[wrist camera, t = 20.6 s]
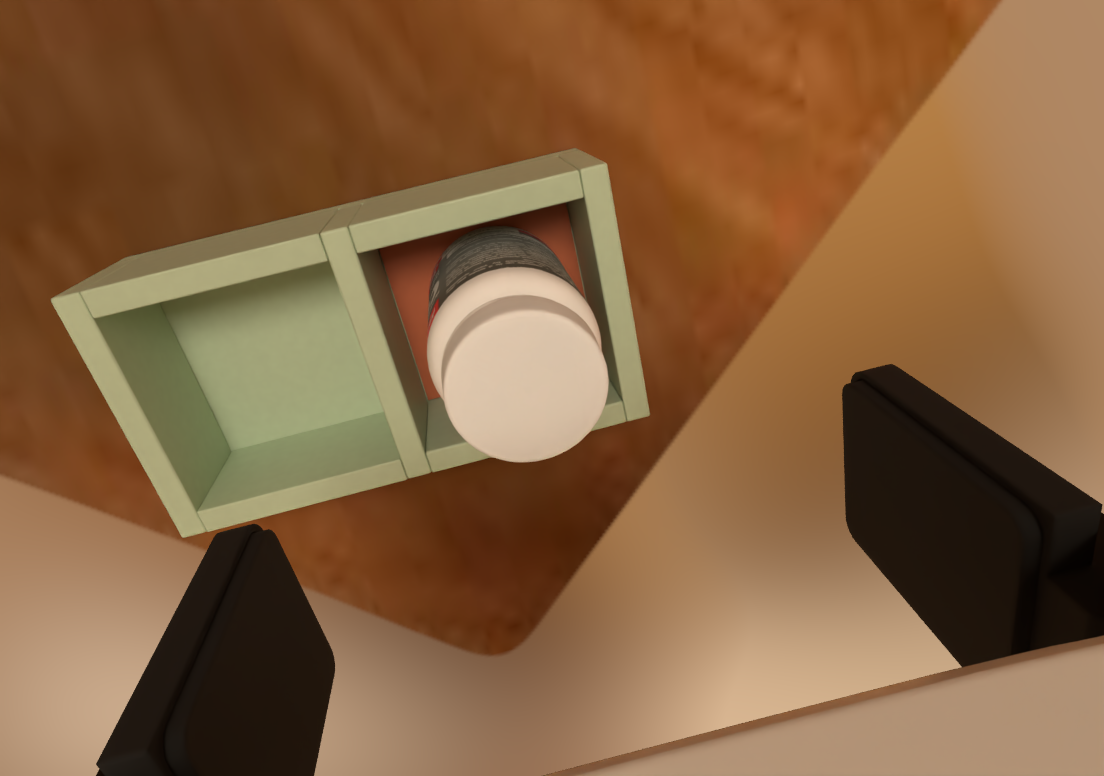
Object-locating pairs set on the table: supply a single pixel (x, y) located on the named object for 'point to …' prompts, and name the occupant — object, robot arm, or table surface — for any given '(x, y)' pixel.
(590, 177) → the rack
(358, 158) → the table surface
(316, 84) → the table surface
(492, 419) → the pill bottle
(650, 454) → the table surface
